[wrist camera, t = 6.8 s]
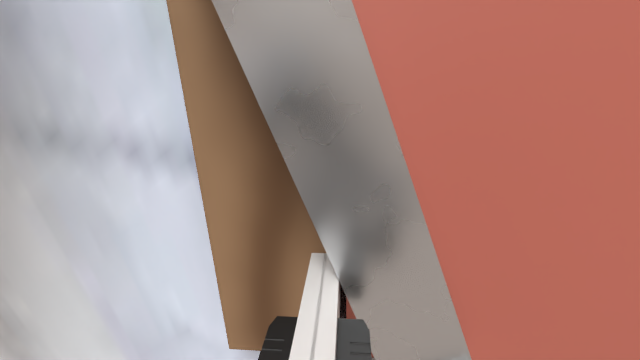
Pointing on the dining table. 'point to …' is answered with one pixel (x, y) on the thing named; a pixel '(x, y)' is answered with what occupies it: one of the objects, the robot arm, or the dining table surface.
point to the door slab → (522, 164)
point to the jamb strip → (240, 182)
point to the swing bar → (348, 168)
